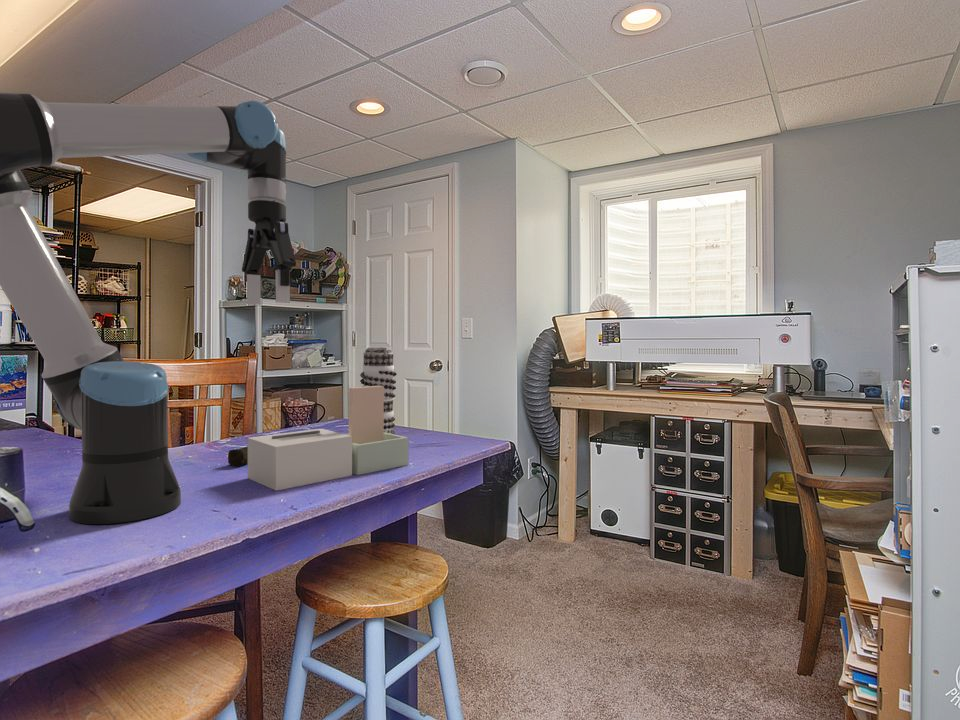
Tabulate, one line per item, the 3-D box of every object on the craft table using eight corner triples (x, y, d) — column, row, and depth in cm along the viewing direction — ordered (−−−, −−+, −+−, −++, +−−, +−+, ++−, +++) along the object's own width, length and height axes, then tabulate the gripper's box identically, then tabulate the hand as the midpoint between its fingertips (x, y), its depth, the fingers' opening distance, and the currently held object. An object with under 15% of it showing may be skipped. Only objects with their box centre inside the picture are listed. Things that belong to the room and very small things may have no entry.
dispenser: (276, 490, 102) (275, 444, 101) (247, 478, 110) (247, 435, 110) (352, 475, 113) (352, 433, 113) (321, 465, 122) (321, 426, 121)
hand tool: (241, 468, 119) (241, 447, 119) (226, 466, 120) (226, 445, 120) (298, 451, 137) (298, 432, 136) (285, 450, 138) (285, 431, 138)
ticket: (352, 463, 119) (352, 388, 119) (348, 462, 120) (348, 387, 120) (383, 457, 125) (383, 386, 124) (379, 456, 126) (379, 385, 125)
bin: (357, 475, 114) (357, 445, 113) (324, 464, 123) (324, 436, 122) (408, 464, 123) (408, 437, 123) (373, 455, 132) (373, 429, 132)
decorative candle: (397, 441, 149) (398, 347, 148) (394, 448, 140) (395, 348, 139) (362, 441, 149) (363, 346, 147) (357, 448, 139) (357, 347, 138)
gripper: (313, 196, 113) (313, 302, 114) (258, 214, 130) (259, 305, 131) (277, 189, 107) (278, 300, 108) (225, 208, 125) (226, 304, 126)
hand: (267, 303), depth 120 cm, fingers open, 13 cm apart
